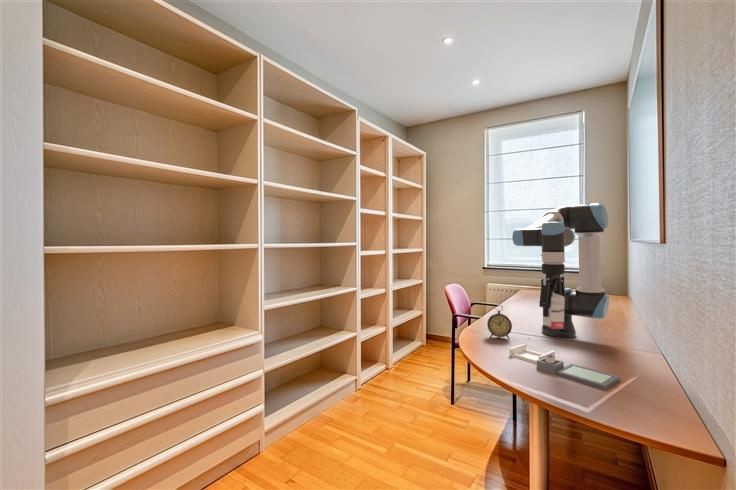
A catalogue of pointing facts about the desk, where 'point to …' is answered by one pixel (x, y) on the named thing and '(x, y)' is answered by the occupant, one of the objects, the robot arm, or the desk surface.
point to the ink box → (557, 311)
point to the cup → (549, 365)
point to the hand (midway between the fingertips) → (553, 322)
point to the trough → (528, 354)
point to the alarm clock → (499, 324)
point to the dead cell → (550, 359)
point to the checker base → (586, 381)
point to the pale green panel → (587, 374)
